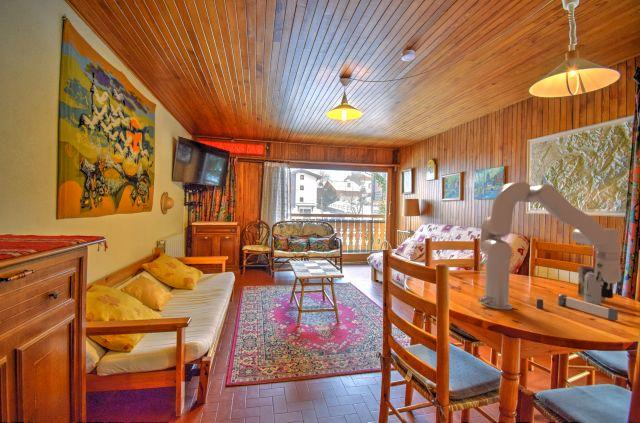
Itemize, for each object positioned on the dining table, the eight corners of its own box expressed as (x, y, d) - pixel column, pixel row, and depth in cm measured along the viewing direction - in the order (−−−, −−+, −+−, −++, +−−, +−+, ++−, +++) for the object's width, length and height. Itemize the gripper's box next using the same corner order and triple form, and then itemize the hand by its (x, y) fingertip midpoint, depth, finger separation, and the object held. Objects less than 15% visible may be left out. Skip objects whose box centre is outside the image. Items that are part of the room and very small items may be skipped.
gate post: (563, 306, 134) (563, 296, 134) (556, 304, 137) (557, 294, 137) (568, 306, 135) (568, 295, 135) (561, 304, 138) (561, 294, 138)
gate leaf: (614, 320, 117) (614, 309, 117) (565, 306, 134) (565, 296, 134) (617, 320, 117) (617, 309, 117) (568, 305, 135) (568, 296, 135)
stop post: (540, 309, 130) (540, 300, 130) (535, 307, 133) (535, 299, 133) (544, 308, 131) (544, 300, 131) (539, 307, 133) (539, 298, 133)
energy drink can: (581, 301, 143) (582, 271, 143) (596, 302, 142) (597, 272, 141) (588, 304, 138) (589, 274, 138) (603, 306, 136) (604, 275, 136)
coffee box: (606, 301, 144) (607, 269, 144) (593, 301, 144) (594, 269, 144) (589, 295, 153) (590, 266, 153) (577, 295, 153) (578, 266, 153)
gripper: (606, 258, 120) (606, 301, 120) (629, 256, 124) (629, 298, 124) (585, 255, 127) (585, 296, 127) (607, 254, 131) (607, 293, 131)
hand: (607, 297), depth 126 cm, fingers closed
